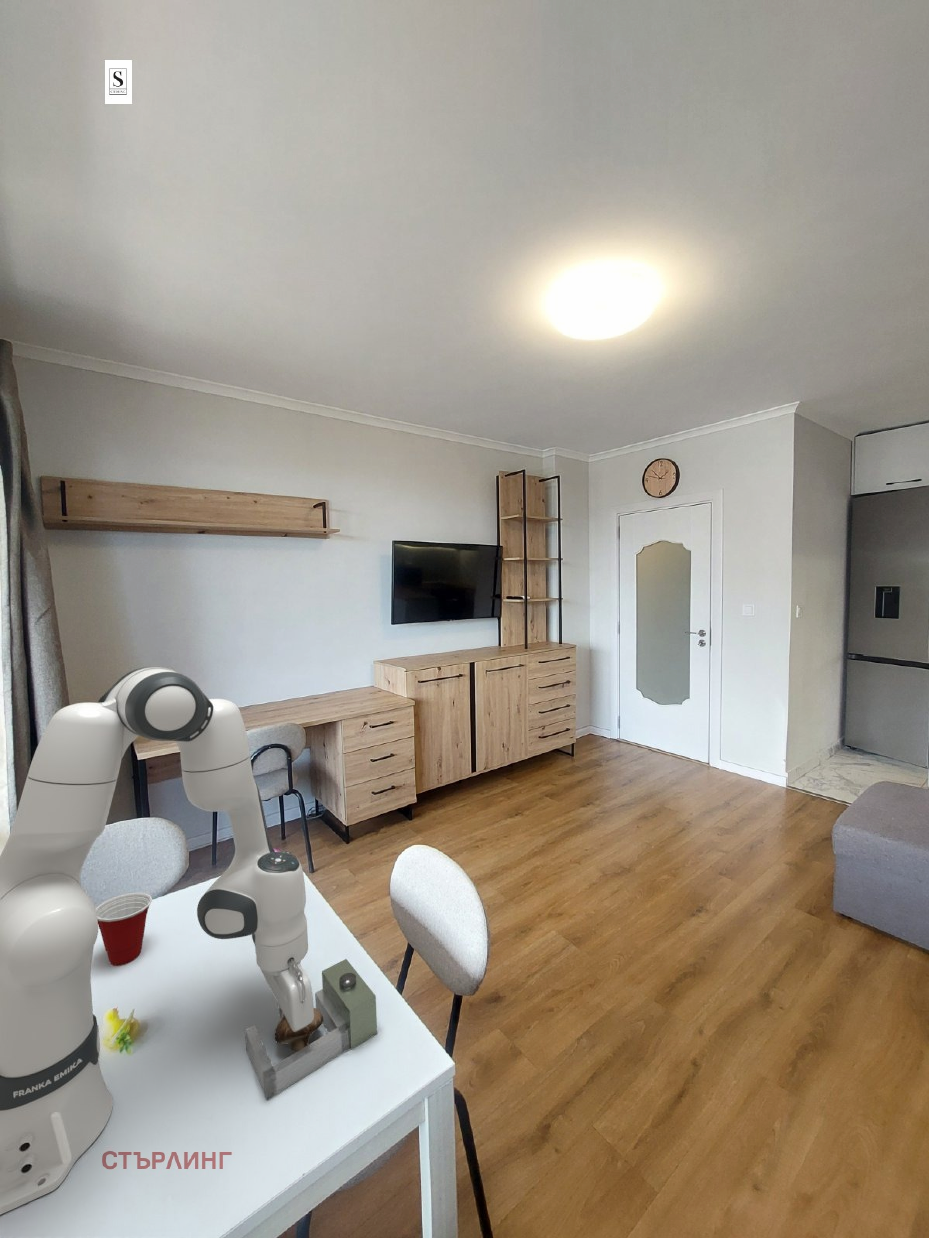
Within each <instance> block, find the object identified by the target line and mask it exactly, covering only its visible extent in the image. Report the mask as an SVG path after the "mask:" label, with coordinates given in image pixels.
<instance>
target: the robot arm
mask: <svg viewBox="0 0 929 1238" xmlns="http://www.w3.org/2000/svg"><path fill="white" fill-rule="evenodd" d="M247 733H248V732H247V729H246V726H245V723H244V719H243V715H242V713H241V711H240V708H239V707H238V705H237V704H235V702H233V701H231V700H229V699H223V698H208V697H207V695H206V694H205V693H204V692H203V690H201V688H200V687H199V685H198V684H197V683H196V682H195V681H193V680H192V679H191V678H190V677H188V676H186V675H184V674H182V673H179V672H178V671H176V670H173V669H171V668H167V667H160V666H159V667H157V666H145V667H144V666H143V667H139V668H135V669H133V670H131V671H128V672H127V673H125V674H124V675H123V676H121V677H120V678H119V679H118V680H117V681H116V682H115V683H114V684H113V685H112V687H110V688H109V689H108V690H107V691H106V692H105V693H104V694H103V695H102V696H101V697H100V698H99V699H98V701H97V702H92V701H91V702H78V703H77V702H76V703H74V704H70V705H67V706H65V707H62V708H61V709H59V710H58V711H56V712H55V713H54V715H53V716H52V717H51V719H50V721H49V723H48V724H47V726H46V728H45V730H44V732H43V734H42V735H41V738H40V740H39V743H38V745H37V746H36V749H35V751H34V754H33V757H32V760H31V764H30V767H29V769H28V773H27V776H26V779H25V783H24V786H23V790H22V793H21V796H20V800H19V803H18V806H17V810H16V814H15V817H14V822H13V823H12V824H13V825H12V827H11V830H10V834H9V836H8V838H7V840H6V843H5V845H4V847H3V849H2V852H0V853H1V854H0V1215H3V1214H5V1213H7V1212H9V1211H12V1210H14V1209H16V1208H18V1207H21V1206H24V1205H25V1204H27V1203H30V1202H31V1201H34V1200H36V1199H38V1198H41V1197H42V1196H45V1195H46V1194H49V1193H51V1192H54V1191H55V1190H56V1189H57V1188H58V1187H59V1186H60V1185H61V1184H63V1182H64V1180H65V1179H66V1178H67V1176H68V1175H69V1173H70V1171H71V1169H72V1168H73V1166H74V1164H75V1163H76V1162H77V1160H79V1158H80V1157H81V1156H82V1155H83V1154H84V1153H85V1152H86V1151H87V1150H88V1149H89V1147H91V1145H92V1144H93V1143H94V1142H95V1141H96V1140H97V1138H98V1137H99V1136H100V1134H101V1133H102V1131H103V1130H104V1128H105V1127H106V1125H107V1123H108V1121H109V1119H110V1117H111V1114H112V1110H113V1103H114V1101H113V1096H112V1093H111V1092H110V1090H109V1089H108V1087H107V1084H106V1082H105V1080H104V1077H103V1073H102V1068H101V1065H100V1061H99V1059H100V1053H101V1044H100V1043H101V1042H100V1040H101V1039H100V1038H101V1037H100V1031H99V1030H100V1028H99V1024H98V1021H97V1017H96V1015H95V1014H94V1011H93V1010H94V1009H93V1008H94V1007H93V995H92V994H93V993H92V981H91V980H92V977H91V974H92V973H91V970H92V963H93V962H92V959H93V954H94V947H95V944H96V942H97V939H98V935H99V925H98V920H97V913H96V906H95V902H94V900H93V899H92V898H91V896H90V895H89V894H88V892H87V891H86V890H85V889H84V888H83V887H82V881H81V876H82V875H81V874H82V871H83V870H82V869H83V866H84V864H85V861H86V859H87V857H88V855H89V853H90V852H91V849H92V848H93V845H94V843H95V842H96V840H97V839H98V838H99V837H100V836H101V835H102V834H103V833H104V831H105V829H106V824H107V820H108V817H109V814H110V809H111V806H112V801H113V797H114V794H115V790H116V785H117V782H118V778H119V775H120V774H119V773H120V768H121V764H122V758H123V757H124V755H125V753H126V751H127V750H128V748H129V746H130V745H131V744H132V742H134V741H135V740H136V739H137V738H139V737H143V738H144V739H147V740H152V741H158V742H159V741H160V742H176V743H177V746H178V749H179V752H180V753H179V754H180V767H181V777H182V784H183V789H184V792H185V796H186V797H187V800H188V801H189V802H190V804H192V805H193V806H194V807H196V808H198V809H199V810H200V809H201V810H203V811H206V812H224V813H225V814H226V815H227V817H228V820H229V823H230V824H229V825H230V829H231V834H232V838H233V843H234V847H235V851H234V855H233V858H232V860H231V863H230V865H228V867H227V869H226V870H225V871H224V872H223V873H222V874H221V875H220V876H219V877H218V878H217V879H216V880H215V881H214V882H213V883H212V884H211V886H209V888H208V889H207V890H206V891H205V893H204V894H203V895H202V896H201V897H200V899H199V901H198V903H197V908H196V915H197V916H196V917H197V920H198V924H199V925H200V926H199V927H201V929H202V930H203V931H204V933H205V934H206V935H208V936H209V937H211V938H214V939H218V940H230V939H237V938H244V937H247V936H251V939H252V941H253V945H254V949H255V956H256V965H257V967H258V968H259V969H260V971H261V973H262V975H263V977H264V978H265V981H266V983H267V984H268V987H269V988H270V991H271V993H272V994H273V996H274V998H275V1001H276V1004H277V1009H278V1012H277V1013H278V1016H279V1018H280V1021H281V1020H282V1019H283V1018H284V1017H286V1019H287V1021H288V1023H289V1025H290V1027H291V1029H292V1031H294V1032H296V1031H298V1030H300V1029H302V1028H304V1027H306V1026H307V1025H309V1024H311V1023H312V1021H313V1019H314V1008H315V1007H314V997H313V991H312V985H311V981H310V978H309V975H308V974H307V973H306V970H305V969H304V967H303V965H302V964H301V962H302V961H303V959H304V958H305V957H306V956H307V954H308V951H309V939H308V938H309V937H308V936H309V935H308V921H307V920H308V919H307V917H306V913H305V909H306V908H305V907H306V903H307V895H306V894H307V893H306V882H305V877H304V871H303V867H302V864H301V862H300V860H299V859H298V858H297V857H296V856H295V855H294V854H292V853H290V852H287V851H281V852H275V851H274V849H275V848H274V847H273V844H272V843H271V840H270V834H269V831H268V825H267V820H266V817H265V810H264V806H263V802H262V797H261V793H260V790H259V786H258V784H257V782H256V780H255V777H254V774H253V773H254V772H253V769H252V761H251V760H252V758H251V753H250V744H249V740H248V739H249V738H248V734H247ZM273 848H274V849H273Z"/></svg>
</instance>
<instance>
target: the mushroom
mask: <svg viewBox="0 0 929 1238" xmlns="http://www.w3.org/2000/svg"><path fill="white" fill-rule="evenodd" d="M322 1025H323V1016H322V1014H321V1013H320V1011H318V1010H317V1009H316V1007H314V1019H313V1021H312V1023H311V1024H309V1025H307V1026H306V1027H304V1028H302V1029H300V1030H298V1031H296V1032H294V1031H292V1029H291V1027H290V1025H289V1023H288V1021H287V1019H286V1017H284V1018H283V1019H282V1020H281V1019H280V1021H279V1022H278V1023H277V1026H276V1028H275V1030H274V1036H273V1037H274V1041H275V1042H276V1043H277V1044H286V1045H289V1046H290V1049H291V1050H292V1051H295V1052H297V1051H299V1050H301V1049H302V1048H304V1047H306V1046H308V1045H309V1040H310V1038H311V1037H312V1035H313V1033H315V1032H316V1031H317V1030H318V1029H319V1028H321V1026H322Z"/></svg>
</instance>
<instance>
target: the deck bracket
mask: <svg viewBox="0 0 929 1238" xmlns="http://www.w3.org/2000/svg"><path fill="white" fill-rule="evenodd" d="M321 980H322V983H321V984H322V988H321V989H320V990H318V991H317V992H315V993H314V996H315V997H314V998H315V1009H317V1010H318V1011H320V1013H321V1014H322V1016H323V1022H322V1024H323V1025H324V1026H325V1028H326V1029H327V1031H328V1033H326V1034H324V1035H323V1036H321V1037H319V1038H318V1039H316V1040H314V1041H313V1042H311V1043H308V1046H306V1047H304V1048H302V1049H301V1050H299V1051H295V1052H294V1053H292V1054H291V1055H290V1056H288V1057H285V1058H284V1059H283V1060H281V1061H279V1062H278V1063H276V1064H274V1065H273V1064H272V1061H271V1059H270V1057H269V1055H268V1053H267V1050H266V1048H265V1046H264V1043H263V1042H262V1039H261V1037H260V1035H259V1033H258V1030H257V1029H256V1025H252V1026H251V1027H249V1028H247V1029H245V1030H244V1031H245V1047H246V1052H247V1054H248V1058H249V1059H250V1061H251V1064H252V1067H253V1069H254V1071H255V1074H256V1077H257V1079H258V1082H259V1085H260V1086H261V1089H262V1092H263V1094H264V1095H265V1099H266V1101H269V1100H270V1099H271V1098H273V1097H275V1096H276V1095H278V1094H279V1093H281V1092H283V1091H284V1090H286V1089H288V1088H289V1087H291V1086H292V1085H294V1084H295V1083H297V1082H299V1081H300V1080H301V1079H303V1078H305V1077H306V1076H308V1075H309V1074H311V1073H313V1072H315V1071H317V1070H318V1069H320V1067H322V1066H324V1065H325V1064H327V1063H329V1062H330V1061H332V1060H334V1059H335V1058H337V1057H338V1056H340V1055H342V1054H343V1053H344V1052H346V1051H348V1050H351V1051H352V1050H354V1049H355V1048H357V1047H358V1046H360V1045H361V1044H363V1043H364V1042H366V1041H368V1040H369V1039H371V1038H372V1037H374V1036H376V1035H377V1034H378V1021H377V1019H378V1018H377V997H376V996H377V995H376V994H375V993H374V992H373V990H372V989H371V988H370V987H369V985H368V984H367V983H366V982H365V980H364V979H363V977H362V976H360V974H359V973H358V972H357V970H356V969H355V968H354V966H353V965H352V964H351V963H350V961H348V959H347V958H345V959H343V960H341V961H339V962H337V963H336V964H333V965H331V966H329V967H327V968H326V969H323V970H322V971H321Z"/></svg>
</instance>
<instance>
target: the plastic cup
mask: <svg viewBox="0 0 929 1238" xmlns="http://www.w3.org/2000/svg"><path fill="white" fill-rule="evenodd" d="M152 902H153V898H152V895H151V894H148V893H146V892H131V893H124V894H122V895H121V894H120V895H118V896H114V897H112V898H109V899H107V900H105V901H103V902H102V903H100V904H99V905H98V906H96V907H95V909H96V913H97V920H98V930H99V931H100V934H101V935H100V936H101V939H102V942H103V946H104V949H105V952H106V954H107V958H108V962H109V963H110V965H112V966H113V967H114V966H115V967H116V966H117V967H119V966H125V965H126V964H129V963H131V962H133V961H135V960H136V959H137V958H138V957H140V954H142V953H141V952H142V949H143V942H144V941H143V939H144V936H145V929H146V923H147V915H148V910H149V909H150V906H151V904H152Z"/></svg>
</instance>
